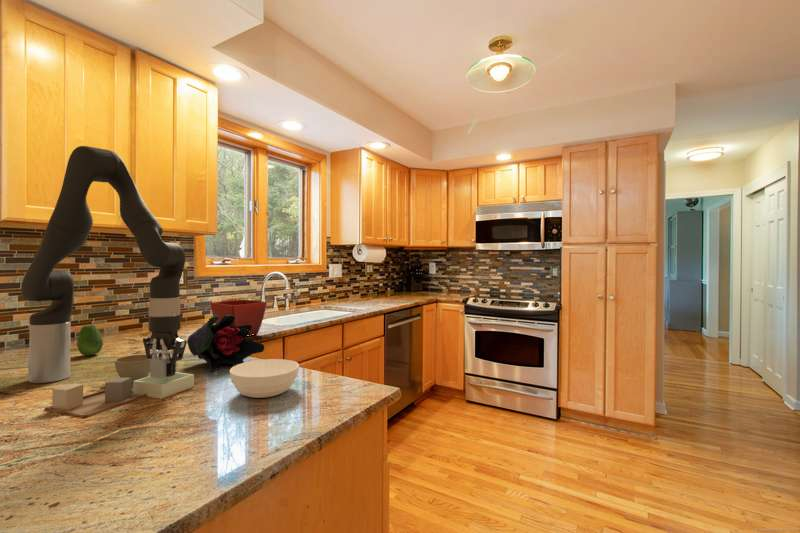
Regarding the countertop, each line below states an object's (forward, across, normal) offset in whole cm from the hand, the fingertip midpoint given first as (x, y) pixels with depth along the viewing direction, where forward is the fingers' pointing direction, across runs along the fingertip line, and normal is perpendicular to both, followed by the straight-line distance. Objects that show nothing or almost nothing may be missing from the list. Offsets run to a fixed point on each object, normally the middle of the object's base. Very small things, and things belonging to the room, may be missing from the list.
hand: (164, 374), depth 105 cm
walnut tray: (+5, -7, -12) cm, 15 cm away
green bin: (+5, 0, 0) cm, 5 cm away
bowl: (+5, +26, +9) cm, 28 cm away
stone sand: (+4, -11, -17) cm, 21 cm away
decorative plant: (+5, -4, +27) cm, 28 cm away
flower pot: (+5, -16, +4) cm, 18 cm away
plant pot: (+5, -39, +73) cm, 83 cm away
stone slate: (0, 0, -1) cm, 1 cm away
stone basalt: (+4, -5, -9) cm, 11 cm away
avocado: (+5, -62, +21) cm, 66 cm away
